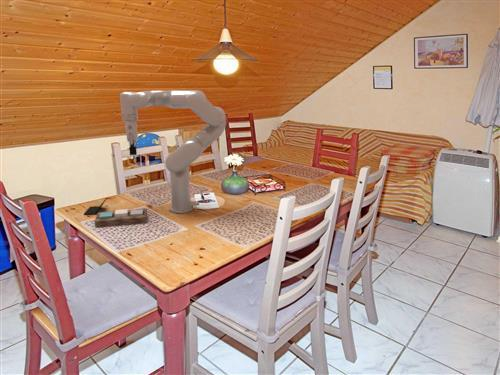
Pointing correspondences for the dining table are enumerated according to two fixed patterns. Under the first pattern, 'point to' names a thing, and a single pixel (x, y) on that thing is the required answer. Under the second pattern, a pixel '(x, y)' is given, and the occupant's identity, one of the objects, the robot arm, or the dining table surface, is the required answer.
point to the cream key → (121, 213)
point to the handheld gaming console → (94, 209)
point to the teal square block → (106, 215)
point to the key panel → (121, 219)
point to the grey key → (136, 212)
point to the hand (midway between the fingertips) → (133, 154)
